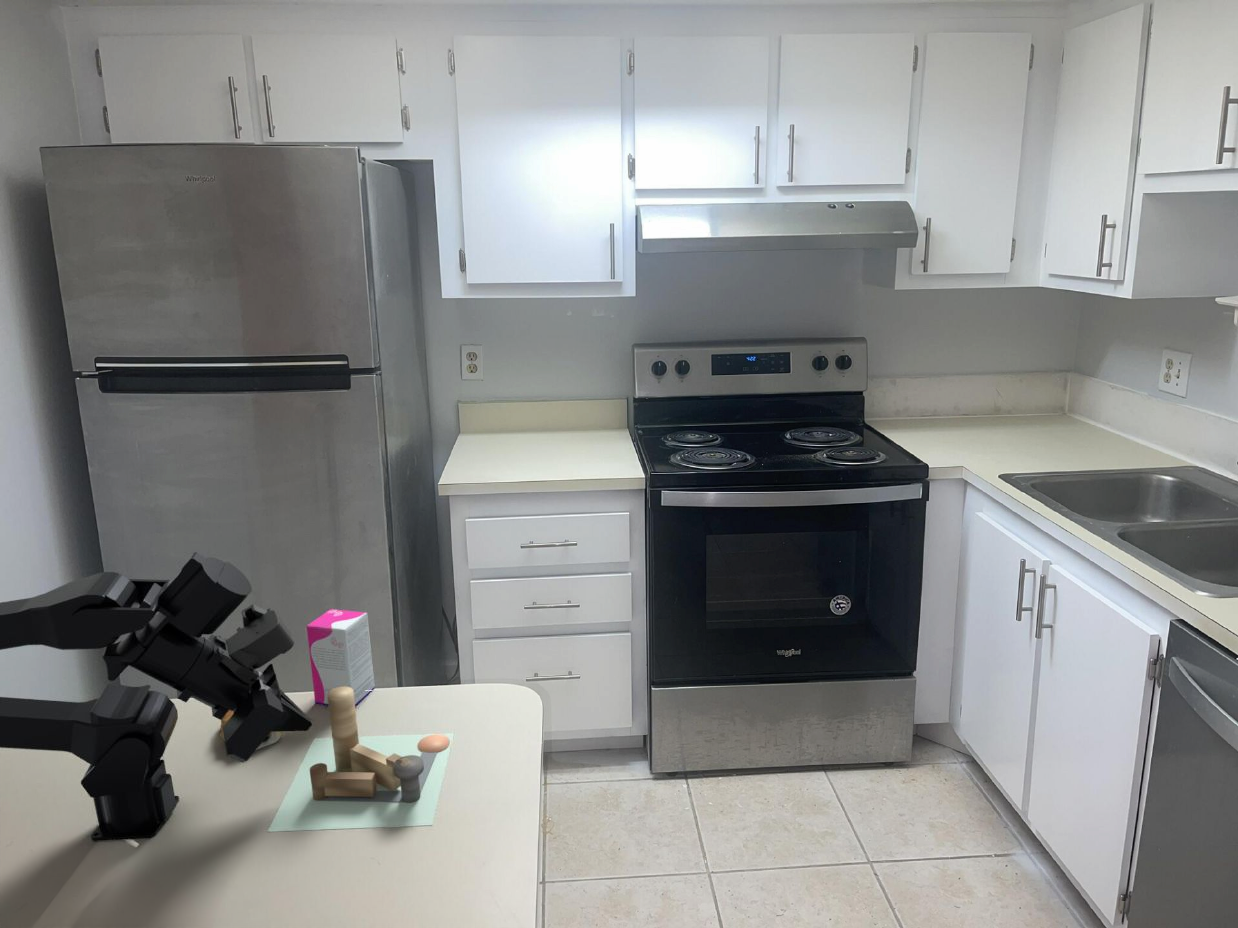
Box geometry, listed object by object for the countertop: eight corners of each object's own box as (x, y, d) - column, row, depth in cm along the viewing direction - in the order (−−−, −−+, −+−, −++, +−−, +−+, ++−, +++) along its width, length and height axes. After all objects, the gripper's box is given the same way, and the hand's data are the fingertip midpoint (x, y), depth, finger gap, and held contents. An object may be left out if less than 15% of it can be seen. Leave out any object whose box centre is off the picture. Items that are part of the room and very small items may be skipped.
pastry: (210, 729, 112) (206, 702, 111) (264, 710, 116) (261, 684, 115) (233, 763, 105) (229, 734, 104) (290, 742, 109) (287, 714, 108)
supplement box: (376, 688, 120) (369, 611, 117) (352, 711, 115) (344, 631, 112) (338, 683, 122) (330, 606, 119) (313, 705, 116) (303, 626, 113)
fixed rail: (422, 791, 98) (420, 763, 97) (417, 802, 96) (415, 775, 96) (316, 789, 99) (313, 762, 98) (310, 801, 97) (306, 773, 96)
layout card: (267, 833, 92) (267, 830, 92) (314, 740, 109) (314, 737, 109) (432, 827, 93) (432, 823, 93) (454, 735, 109) (454, 732, 109)
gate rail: (432, 791, 98) (425, 715, 95) (410, 807, 95) (403, 729, 93) (351, 755, 105) (343, 683, 102) (329, 769, 102) (320, 695, 99)
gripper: (246, 634, 85) (374, 706, 93) (230, 568, 101) (340, 634, 109) (168, 729, 84) (304, 794, 91) (164, 647, 100) (280, 708, 107)
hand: (309, 725), depth 100 cm, fingers closed
